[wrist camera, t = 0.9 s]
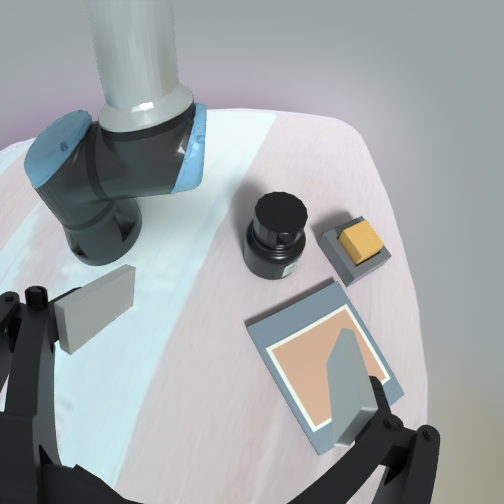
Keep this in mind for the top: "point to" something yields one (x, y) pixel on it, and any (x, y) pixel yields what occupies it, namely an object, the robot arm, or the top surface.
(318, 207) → the top surface
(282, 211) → the ink bottle
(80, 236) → the robot arm
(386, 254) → the button housing
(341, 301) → the picture board
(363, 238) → the button
